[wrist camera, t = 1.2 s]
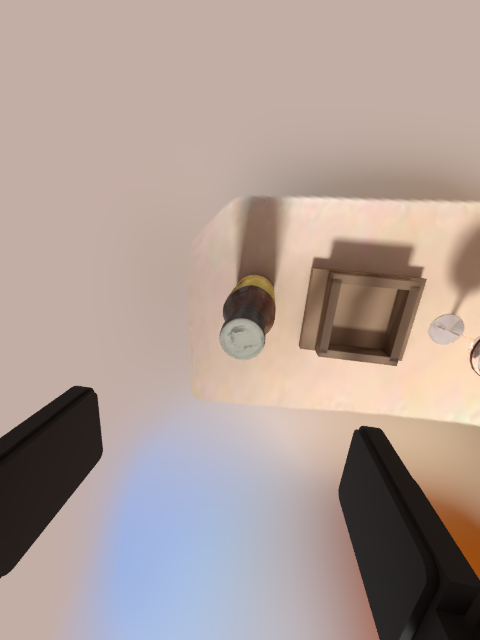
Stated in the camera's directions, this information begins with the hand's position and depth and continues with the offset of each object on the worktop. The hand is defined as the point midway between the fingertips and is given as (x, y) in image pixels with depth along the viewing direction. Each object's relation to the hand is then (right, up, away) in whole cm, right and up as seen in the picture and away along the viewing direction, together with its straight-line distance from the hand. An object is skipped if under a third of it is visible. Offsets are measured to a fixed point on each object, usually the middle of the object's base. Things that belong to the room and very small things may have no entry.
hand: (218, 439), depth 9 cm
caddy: (+19, +5, +30) cm, 36 cm away
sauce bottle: (+3, +9, +31) cm, 32 cm away
